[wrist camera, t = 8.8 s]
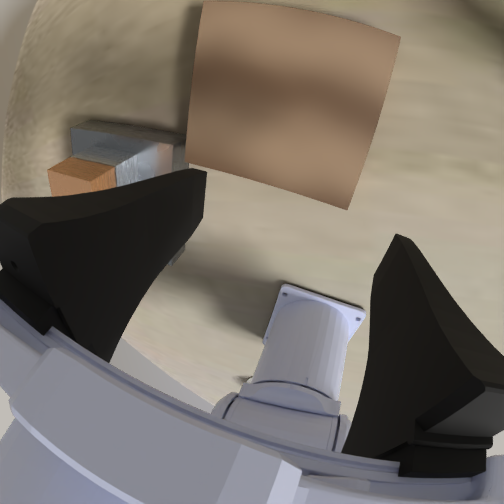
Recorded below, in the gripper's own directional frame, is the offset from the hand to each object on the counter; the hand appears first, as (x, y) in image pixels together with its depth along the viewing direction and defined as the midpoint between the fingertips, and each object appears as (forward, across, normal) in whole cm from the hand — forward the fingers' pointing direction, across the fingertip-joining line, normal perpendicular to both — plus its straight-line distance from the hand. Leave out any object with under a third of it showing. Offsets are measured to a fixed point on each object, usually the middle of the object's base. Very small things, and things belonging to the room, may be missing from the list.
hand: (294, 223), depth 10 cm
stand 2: (+10, +3, -3) cm, 11 cm away
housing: (+7, +15, +7) cm, 18 cm away
